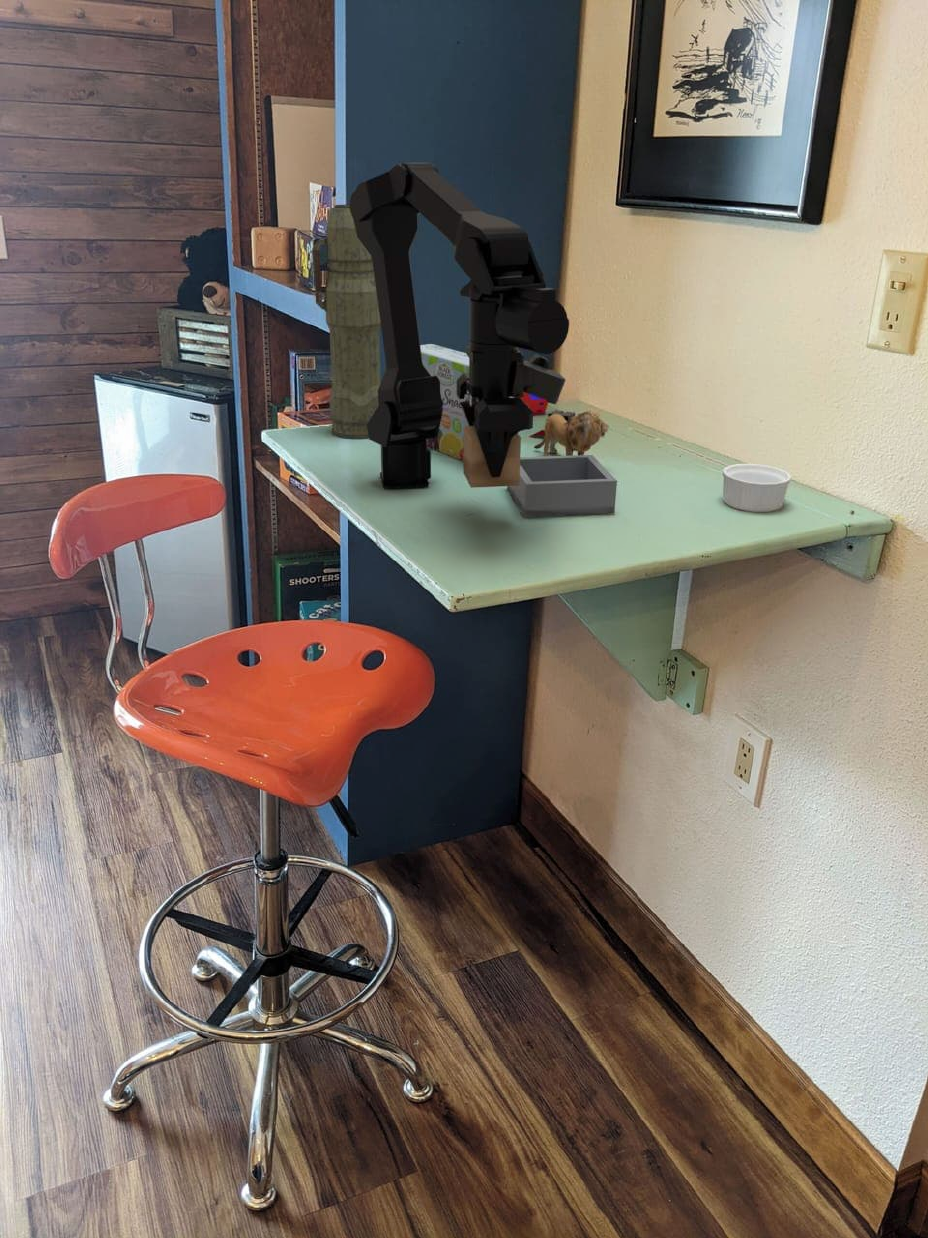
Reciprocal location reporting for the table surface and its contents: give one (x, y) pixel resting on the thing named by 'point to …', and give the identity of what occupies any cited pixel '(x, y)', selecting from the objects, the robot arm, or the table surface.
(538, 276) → the robot arm
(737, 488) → the ramekin
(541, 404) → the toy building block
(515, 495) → the grey square tray
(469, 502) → the table surface
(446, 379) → the snack box
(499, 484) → the walnut cube
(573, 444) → the lion figurine
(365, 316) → the thermos
